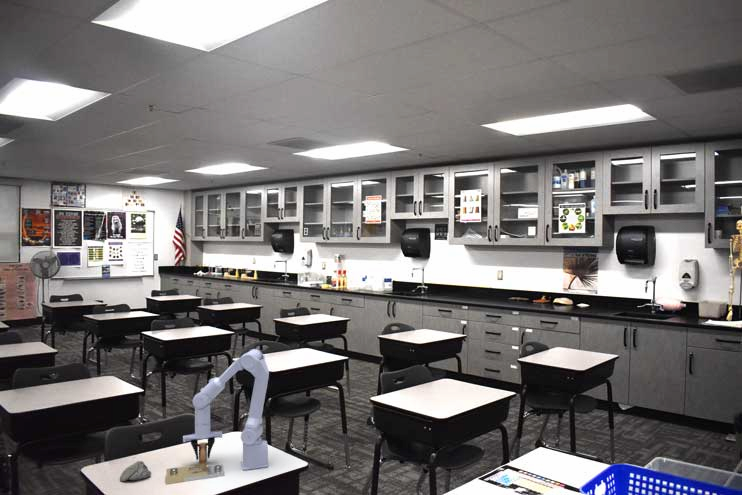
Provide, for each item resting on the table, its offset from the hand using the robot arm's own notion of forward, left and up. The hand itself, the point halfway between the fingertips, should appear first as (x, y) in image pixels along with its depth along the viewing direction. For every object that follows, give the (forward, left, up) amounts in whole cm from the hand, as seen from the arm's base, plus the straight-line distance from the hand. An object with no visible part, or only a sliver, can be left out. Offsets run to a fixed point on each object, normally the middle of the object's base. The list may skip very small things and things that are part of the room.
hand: (202, 458), depth 206 cm
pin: (0, 0, -2) cm, 2 cm away
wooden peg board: (+3, +10, -3) cm, 11 cm away
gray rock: (+24, +3, -3) cm, 24 cm away
